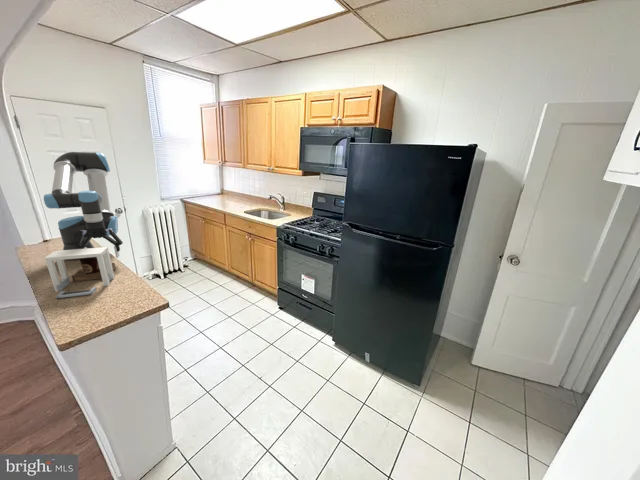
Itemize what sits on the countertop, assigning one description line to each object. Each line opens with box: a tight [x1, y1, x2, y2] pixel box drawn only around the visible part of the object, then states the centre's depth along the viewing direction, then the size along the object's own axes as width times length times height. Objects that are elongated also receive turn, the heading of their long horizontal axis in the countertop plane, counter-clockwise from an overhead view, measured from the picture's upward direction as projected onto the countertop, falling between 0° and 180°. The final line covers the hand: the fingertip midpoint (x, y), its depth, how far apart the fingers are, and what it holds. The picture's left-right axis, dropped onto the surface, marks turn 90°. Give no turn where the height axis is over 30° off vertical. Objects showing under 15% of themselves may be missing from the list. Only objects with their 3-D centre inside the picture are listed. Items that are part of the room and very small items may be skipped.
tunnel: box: [44, 246, 115, 292], centre depth 122 cm, size 9×20×16 cm, turn 111°
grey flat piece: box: [55, 286, 97, 300], centre depth 115 cm, size 5×12×1 cm, turn 112°
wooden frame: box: [71, 246, 116, 283], centre depth 136 cm, size 20×14×10 cm, turn 22°
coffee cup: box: [77, 257, 100, 274], centre depth 130 cm, size 9×8×13 cm
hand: (103, 258), depth 144 cm, fingers open, 13 cm apart
